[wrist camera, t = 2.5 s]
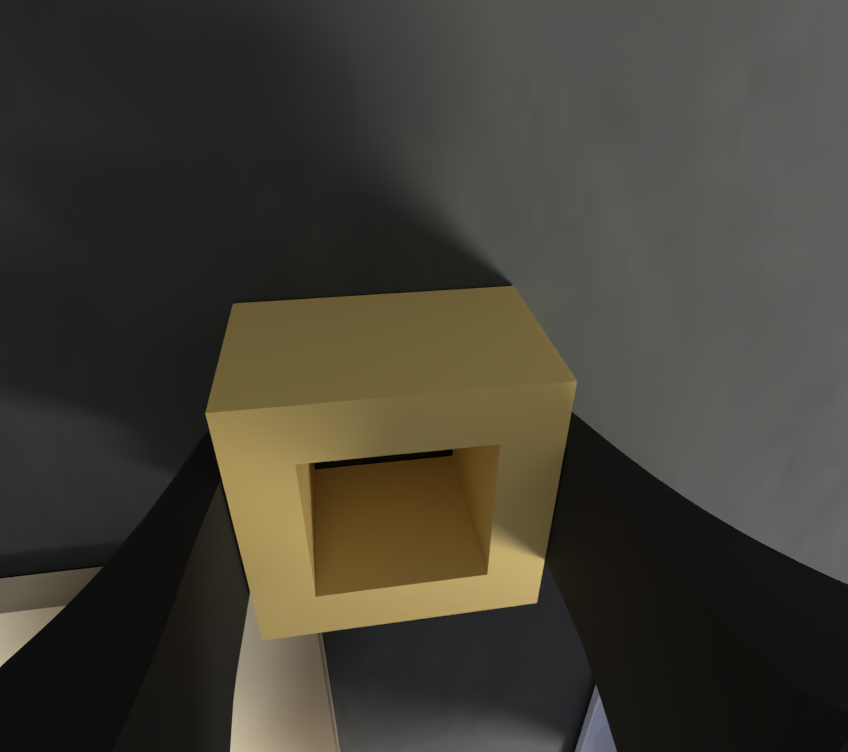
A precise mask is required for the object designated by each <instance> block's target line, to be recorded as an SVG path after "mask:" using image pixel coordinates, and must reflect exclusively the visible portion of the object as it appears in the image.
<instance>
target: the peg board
mask: <svg viewBox="0 0 848 752" xmlns="http://www.w3.org/2000/svg"><path fill="white" fill-rule="evenodd" d="M101 568H102V567H94V568H86V569H77V570H69V571H60V572H51V573H43V574H34V575H26V576H17V577H9V578H0V666H2V665H3V664H4V663H5V662H6V661H7V660H8V659H9V658H10V657H12V656H13V655H14V654H15V653H16V652H17V651H18V650H19V649H20V648H22V647H23V646H24V645H25V644H26V643H27V642H28V641H29V640H30V639H32V638H33V637H34V636H35V635H36V634H37V633H38V632H39V631H40V630H41V629H42V628H43V627H45V626H46V625H47V624H48V623H49V622H50V621H51V620H52V619H53V618H54V617H55V616H56V615H57V614H58V613H59V612H60V611H61V610H62V609H63V608H64V607H65V606H66V605H67V604H68V603H69V602H70V601H71V600H72V599H73V598H74V597H75V596H76V595H77V594H78V593H79V592H80V591H81V590H82V589H83V588H84V587H85V586H86V585H87V584H88V583H89V581H90V580H91V579H92V578H93V577H94V576H95V575H96V574H97V573H98V572H99V571H100V569H101ZM230 752H340V747H339V740H338V734H337V727H336V720H335V714H334V707H333V701H332V694H331V688H330V681H329V675H328V668H327V662H326V655H325V649H324V642H323V635H322V632H321V633H314V634H307V635H300V636H292V637H285V638H278V639H270V640H263V641H262V637H261V633H260V629H259V625H258V621H257V617H256V613H255V609H254V605H253V601H252V597H251V593H250V596H249V602H248V609H247V615H246V621H245V627H244V633H243V639H242V645H241V651H240V657H239V663H238V669H237V676H236V684H235V692H234V700H233V715H232V729H231V744H230Z"/></svg>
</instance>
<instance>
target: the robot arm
mask: <svg viewBox="0 0 848 752" xmlns="http://www.w3.org/2000/svg"><path fill="white" fill-rule="evenodd" d="M545 559H546V561H547V563H548V565H549V568H550V570H551V572H552V574H553V577H554V579H555V581H556V583H557V586H558V588H559V590H560V592H561V595H562V597H563V599H564V601H565V604H566V606H567V608H568V611H569V613H570V615H571V617H572V620H573V622H574V624H575V626H576V629H577V632H578V634H579V637H580V639H581V642H582V644H583V647H584V650H585V653H586V656H587V659H588V662H589V665H590V668H591V671H592V674H593V677H594V680H595V683H596V685H595V688H594V692H593V695H592V698H591V701H590V705H589V708H588V711H587V714H586V717H585V721H584V724H583V727H582V730H581V734H580V737H579V740H578V743H577V747H576V750H575V752H848V584H845V583H843V582H841V581H838V580H836V579H834V578H832V577H829V576H827V575H825V574H823V573H821V572H819V571H816V570H814V569H812V568H810V567H808V566H806V565H804V564H802V563H800V562H798V561H796V560H794V559H792V558H790V557H788V556H786V555H784V554H782V553H780V552H778V551H776V550H774V549H772V548H770V547H768V546H766V545H764V544H762V543H760V542H759V541H757V540H755V539H753V538H751V537H749V536H748V535H746V534H744V533H742V532H740V531H739V530H737V529H735V528H733V527H732V526H730V525H728V524H727V523H725V522H723V521H722V520H720V519H718V518H717V517H715V516H713V515H712V514H710V513H708V512H707V511H705V510H703V509H702V508H700V507H699V506H697V505H695V504H694V503H692V502H691V501H689V500H688V499H686V498H685V497H683V496H682V495H680V494H679V493H677V492H676V491H674V490H673V489H672V488H670V487H669V486H667V485H666V484H664V483H663V482H661V481H660V480H658V479H657V478H656V477H654V476H653V475H652V474H650V473H649V472H647V471H646V470H645V469H643V468H642V467H641V466H639V465H638V464H637V463H635V462H634V461H633V460H631V459H630V458H629V457H627V456H626V455H625V454H624V453H622V452H621V451H620V450H618V449H617V448H616V447H615V446H613V445H612V444H611V443H610V442H608V441H607V440H606V439H605V438H603V437H602V436H601V435H600V434H598V433H597V432H596V431H595V430H594V429H592V428H591V427H590V426H589V425H587V424H586V423H585V422H584V421H583V420H581V419H580V418H579V417H578V416H576V415H575V414H574V413H573V412H571V418H570V423H569V429H568V434H567V440H566V446H565V451H564V457H563V462H562V468H561V473H560V479H559V484H558V490H557V495H556V501H555V506H554V512H553V517H552V523H551V528H550V534H549V539H548V545H547V550H546V556H545ZM249 596H250V589H249V585H248V581H247V577H246V573H245V569H244V565H243V561H242V557H241V553H240V549H239V545H238V541H237V537H236V533H235V529H234V525H233V522H232V518H231V514H230V510H229V506H228V502H227V498H226V494H225V490H224V486H223V482H222V478H221V474H220V470H219V466H218V462H217V458H216V454H215V450H214V446H213V442H212V438H211V434H210V432H207V433H206V434H205V435H204V436H203V437H202V438H201V439H200V441H199V442H198V444H197V445H196V447H195V448H194V450H193V451H192V453H191V454H190V456H189V457H188V459H187V460H186V461H185V463H184V464H183V466H182V467H181V469H180V470H179V472H178V473H177V474H176V476H175V477H174V479H173V480H172V481H171V483H170V484H169V486H168V487H167V488H166V490H165V491H164V492H163V494H162V495H161V496H160V498H159V499H158V500H157V501H156V503H155V504H154V505H153V507H152V508H151V509H150V511H149V512H148V513H147V515H146V516H145V517H144V519H143V520H142V521H141V522H140V524H139V525H138V526H137V527H136V528H135V530H134V531H133V532H132V533H131V534H130V536H129V537H128V538H127V539H126V540H125V542H124V543H123V544H122V545H121V546H120V548H119V549H118V550H117V551H116V552H115V553H114V555H113V556H112V557H111V558H110V559H109V561H108V562H107V563H106V564H105V565H104V566H103V567H102V568H101V569H100V571H99V572H98V573H97V574H96V575H95V576H94V577H93V578H92V579H91V580H90V581H89V583H88V584H87V585H86V586H85V587H84V588H83V589H82V590H81V591H80V592H79V593H78V594H77V595H76V596H75V597H74V598H73V599H72V600H71V601H70V602H69V603H68V604H67V605H66V606H65V607H64V608H63V609H62V610H61V611H60V612H59V613H58V614H57V615H56V616H55V617H54V618H53V619H52V620H51V621H50V622H49V623H48V624H47V625H46V626H45V627H43V628H42V629H41V630H40V631H39V632H38V633H37V634H36V635H35V636H34V637H33V638H32V639H30V640H29V641H28V642H27V643H26V644H25V645H24V646H23V647H22V648H20V649H19V650H18V651H17V652H16V653H15V654H14V655H13V656H12V657H10V658H9V659H8V660H7V661H6V662H5V663H4V664H3V665H2V666H0V752H230V744H231V729H232V715H233V700H234V692H235V684H236V676H237V669H238V663H239V657H240V651H241V645H242V639H243V633H244V627H245V621H246V615H247V609H248V602H249Z"/></svg>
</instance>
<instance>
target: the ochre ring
mask: <svg viewBox="0 0 848 752" xmlns="http://www.w3.org/2000/svg"><path fill="white" fill-rule="evenodd" d="M576 385H577V380H576V379H575V377H574V376H573V374H572V373H571V371H570V370H569V368H568V367H567V365H566V364H565V362H564V361H563V359H562V358H561V356H560V355H559V353H558V352H557V350H556V349H555V347H554V345H553V344H552V342H551V341H550V339H549V338H548V336H547V335H546V333H545V332H544V330H543V329H542V327H541V326H540V324H539V323H538V321H537V320H536V318H535V317H534V315H533V314H532V312H531V311H530V309H529V308H528V306H527V305H526V303H525V302H524V300H523V299H522V297H521V296H520V294H519V293H518V291H517V290H516V288H515V287H514V286H504V287H488V288H472V289H456V290H440V291H424V292H408V293H392V294H376V295H360V296H344V297H328V298H312V299H296V300H280V301H264V302H248V303H233V305H232V309H231V313H230V317H229V321H228V325H227V329H226V333H225V337H224V341H223V345H222V349H221V353H220V357H219V361H218V365H217V369H216V373H215V377H214V381H213V385H212V388H211V392H210V396H209V400H208V404H207V408H206V412H205V414H206V418H207V422H208V426H209V430H210V434H211V438H212V442H213V446H214V450H215V454H216V458H217V462H218V466H219V470H220V474H221V478H222V482H223V486H224V490H225V494H226V498H227V502H228V506H229V510H230V514H231V518H232V522H233V525H234V529H235V533H236V537H237V541H238V545H239V549H240V553H241V557H242V561H243V565H244V569H245V573H246V577H247V581H248V585H249V589H250V593H251V597H252V601H253V605H254V609H255V613H256V617H257V621H258V625H259V629H260V633H261V637H262V641H263V640H270V639H278V638H285V637H292V636H300V635H307V634H314V633H321V632H329V631H336V630H343V629H351V628H358V627H365V626H373V625H380V624H387V623H395V622H402V621H409V620H416V619H424V618H431V617H438V616H446V615H453V614H460V613H468V612H475V611H482V610H490V609H497V608H504V607H511V606H519V605H526V604H533V603H537V600H538V594H539V589H540V583H541V578H542V572H543V567H544V561H545V556H546V550H547V545H548V539H549V534H550V528H551V523H552V517H553V512H554V506H555V501H556V495H557V490H558V484H559V479H560V473H561V468H562V462H563V457H564V451H565V446H566V440H567V434H568V429H569V423H570V418H571V412H572V407H573V401H574V396H575V390H576ZM448 449H453V452H452V456H445V457H435V458H425V459H415V460H405V461H395V462H385V463H375V464H365V465H355V466H345V467H335V468H325V469H315V464H314V463H317V462H327V461H337V460H347V459H357V458H367V457H377V456H387V455H397V454H408V453H418V452H428V451H438V450H448Z"/></svg>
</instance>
